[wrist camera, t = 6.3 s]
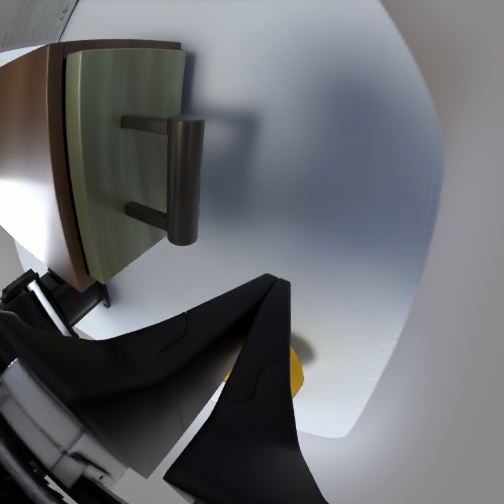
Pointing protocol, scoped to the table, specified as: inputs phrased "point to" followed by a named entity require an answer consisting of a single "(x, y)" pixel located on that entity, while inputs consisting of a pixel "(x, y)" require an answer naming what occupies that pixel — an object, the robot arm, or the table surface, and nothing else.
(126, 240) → the drawer
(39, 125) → the cabinet
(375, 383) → the table surface
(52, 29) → the small box
